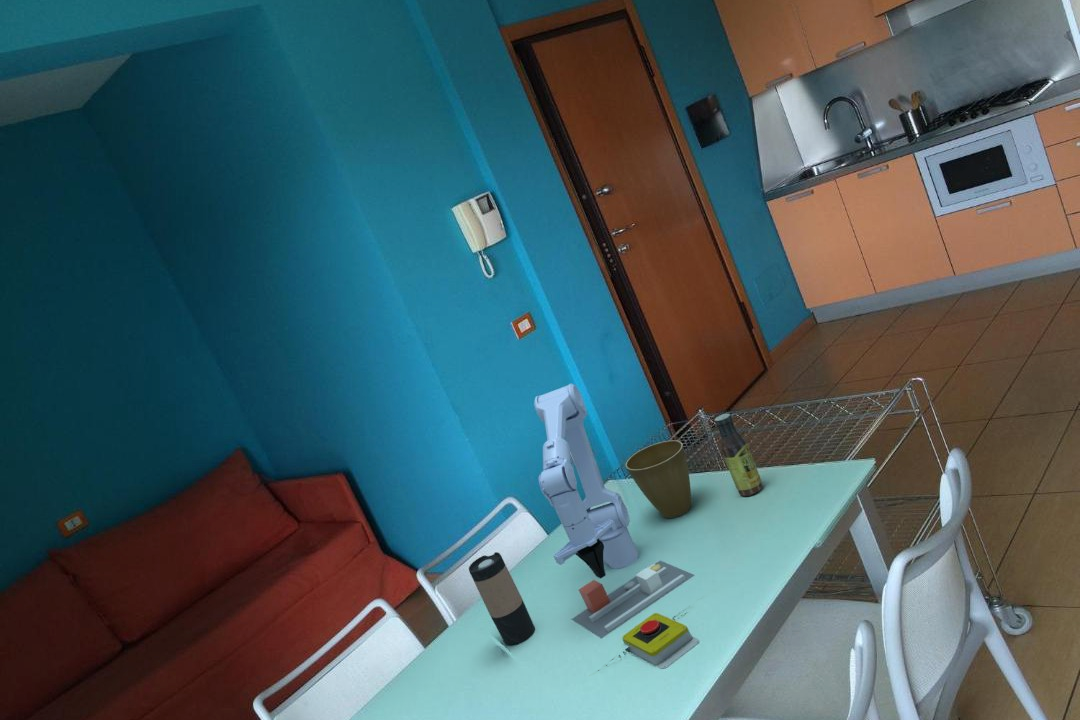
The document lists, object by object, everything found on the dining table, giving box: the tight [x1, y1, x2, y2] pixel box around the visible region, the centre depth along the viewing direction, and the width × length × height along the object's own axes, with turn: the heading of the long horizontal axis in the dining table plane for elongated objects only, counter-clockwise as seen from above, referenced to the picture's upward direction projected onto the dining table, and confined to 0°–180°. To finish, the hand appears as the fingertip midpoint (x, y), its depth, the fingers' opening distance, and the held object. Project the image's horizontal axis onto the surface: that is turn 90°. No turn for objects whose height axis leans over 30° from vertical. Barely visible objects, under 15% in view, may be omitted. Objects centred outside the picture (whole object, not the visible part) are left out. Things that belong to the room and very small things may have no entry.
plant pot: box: [625, 439, 692, 519], centre depth 226 cm, size 15×15×16 cm
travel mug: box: [468, 552, 536, 647], centre depth 196 cm, size 8×8×20 cm
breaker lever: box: [635, 567, 663, 595], centre depth 191 cm, size 4×3×4 cm
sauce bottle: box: [714, 413, 763, 497], centre depth 219 cm, size 6×6×20 cm
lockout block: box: [578, 579, 611, 613], centre depth 194 cm, size 4×4×5 cm
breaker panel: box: [571, 560, 695, 639], centre depth 192 cm, size 14×24×2 cm, turn 114°
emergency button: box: [621, 612, 700, 670], centre depth 173 cm, size 9×4×15 cm
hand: (601, 575), depth 191 cm, fingers closed
